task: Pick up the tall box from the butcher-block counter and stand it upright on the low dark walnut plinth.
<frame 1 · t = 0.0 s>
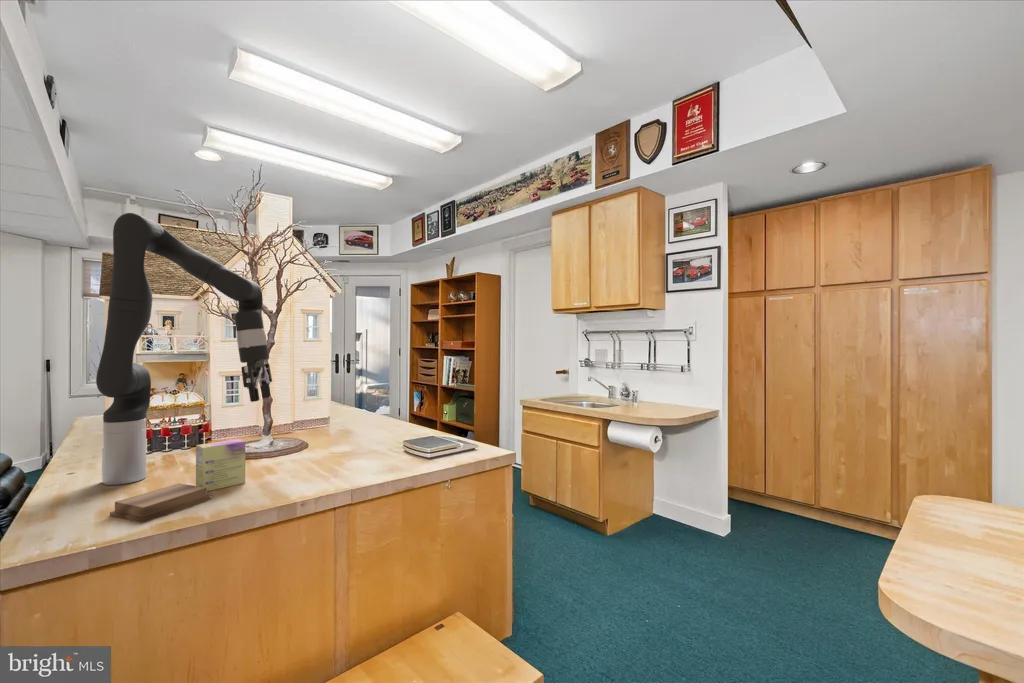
hand: (261, 399, 132), 22 cm above the countertop, tool pointing down, fingers open, 8 cm apart
plinth: (162, 507, 106), on the countertop
box: (220, 486, 121), on the countertop
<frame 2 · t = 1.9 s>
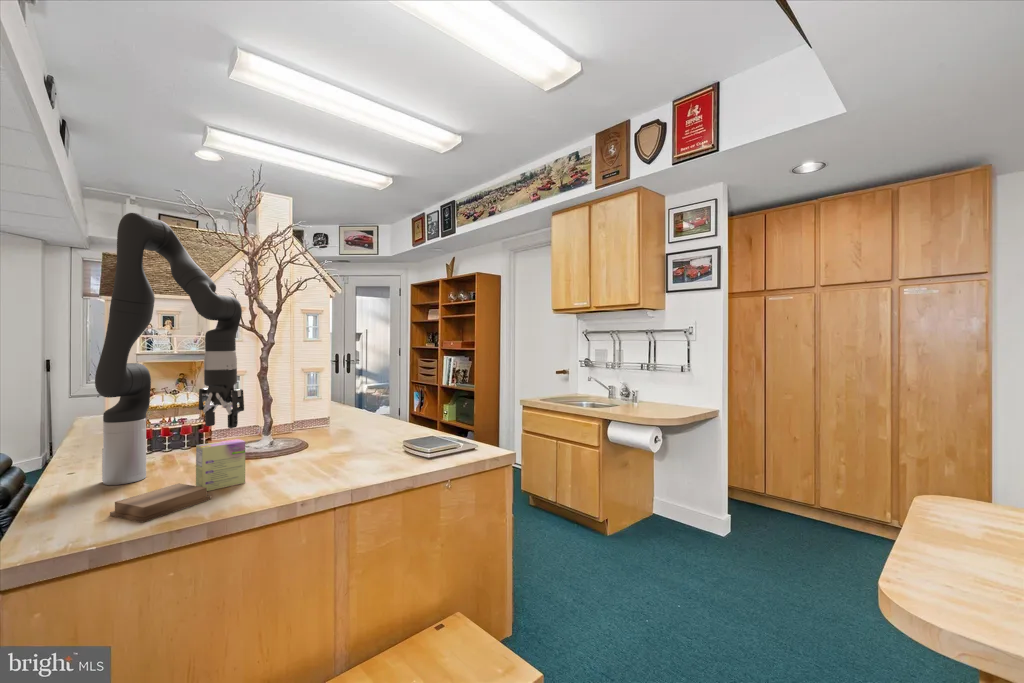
hand: (221, 426, 121), 16 cm above the countertop, tool pointing down, fingers open, 8 cm apart
nothing on the countertop moved.
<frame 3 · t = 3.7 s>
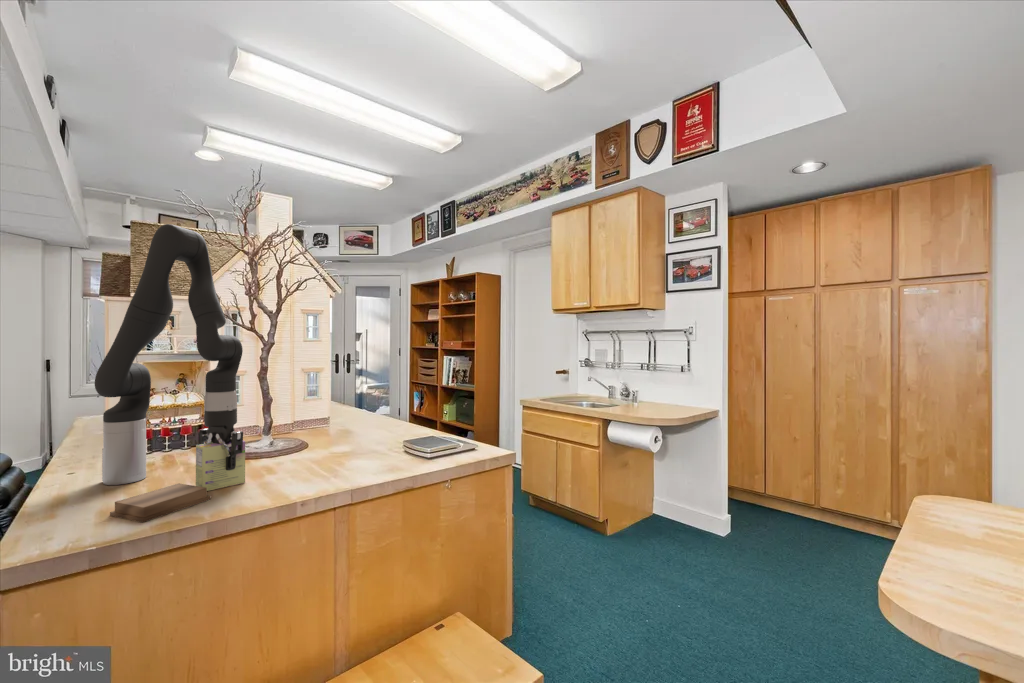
hand: (221, 468, 121), 5 cm above the countertop, tool pointing down, fingers closed on box, 6 cm apart
box: (220, 486, 121), on the countertop, touching gripper
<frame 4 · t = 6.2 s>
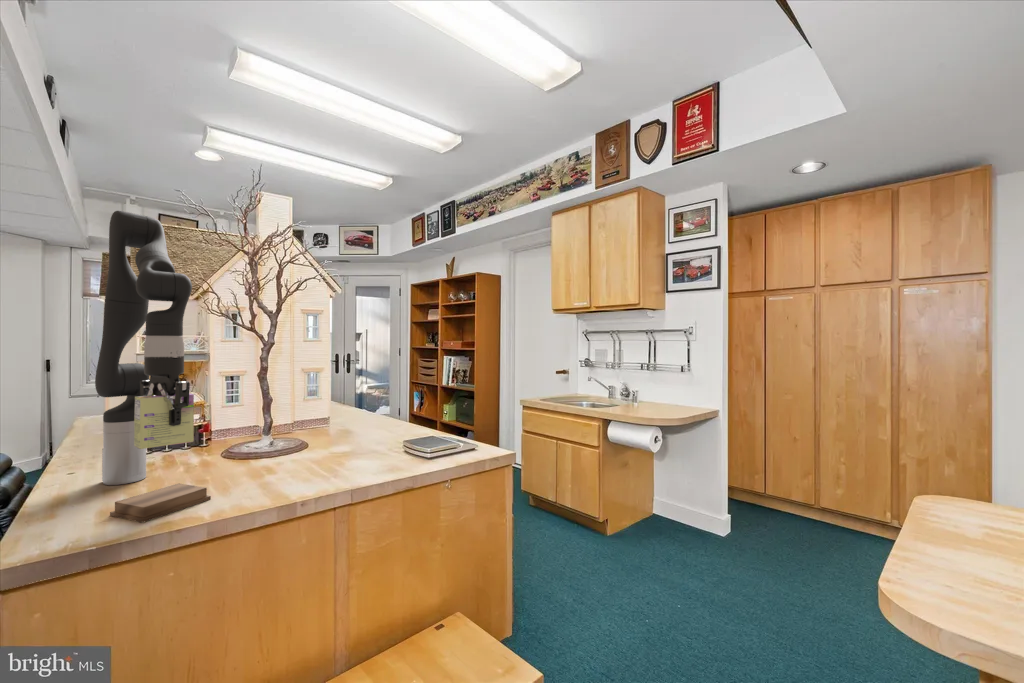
hand: (164, 424, 106), 20 cm above the countertop, tool pointing down, fingers closed on box, 6 cm apart
box: (164, 445, 106), point 15 cm above the countertop, touching gripper
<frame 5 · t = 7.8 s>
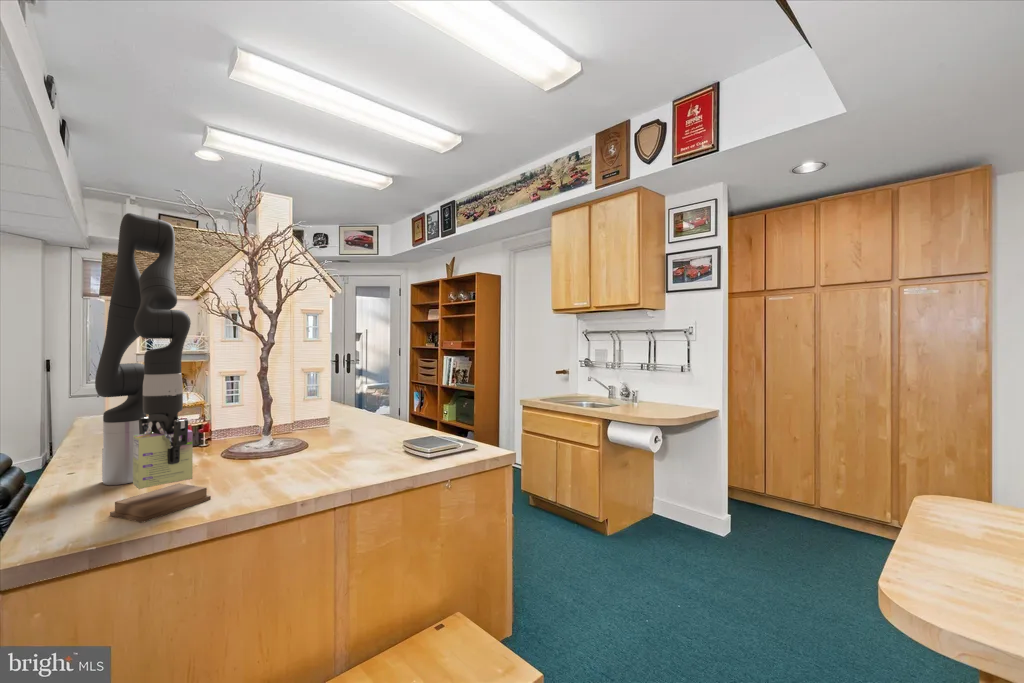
hand: (163, 461, 106), 11 cm above the countertop, tool pointing down, fingers closed on box, 6 cm apart
box: (163, 482, 106), point 6 cm above the countertop, touching gripper
when the fingers open (9 cm above the countertop, at t = 9.2 s): box drops 1 cm, resting on plinth.
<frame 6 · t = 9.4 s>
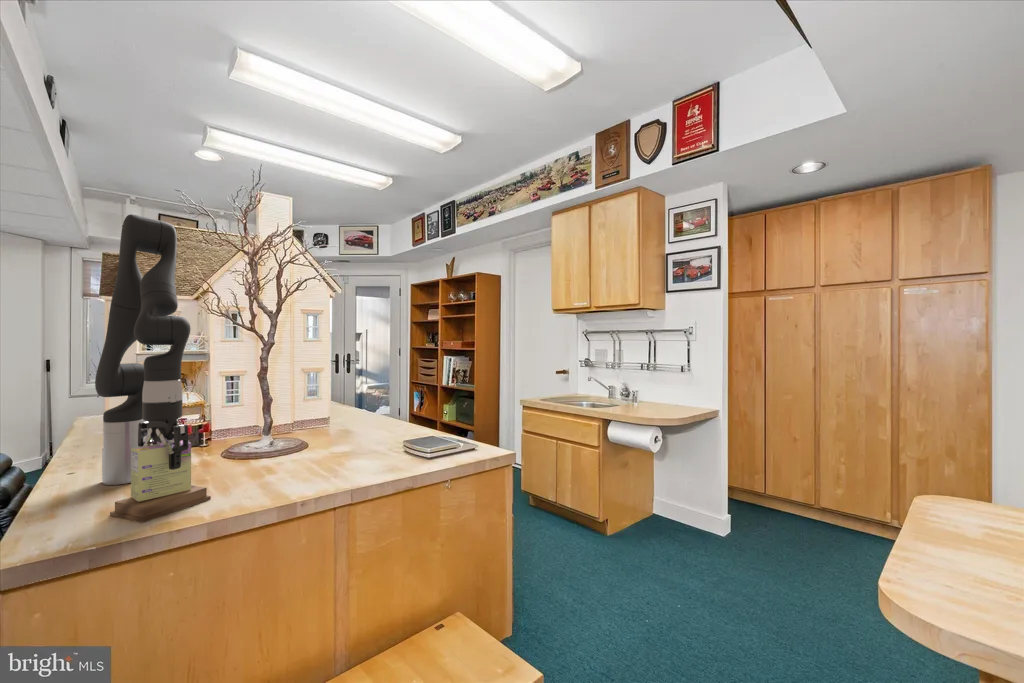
hand: (162, 467, 106), 10 cm above the countertop, tool pointing down, fingers open, 8 cm apart
box: (161, 494, 106), point 3 cm above the countertop, touching plinth
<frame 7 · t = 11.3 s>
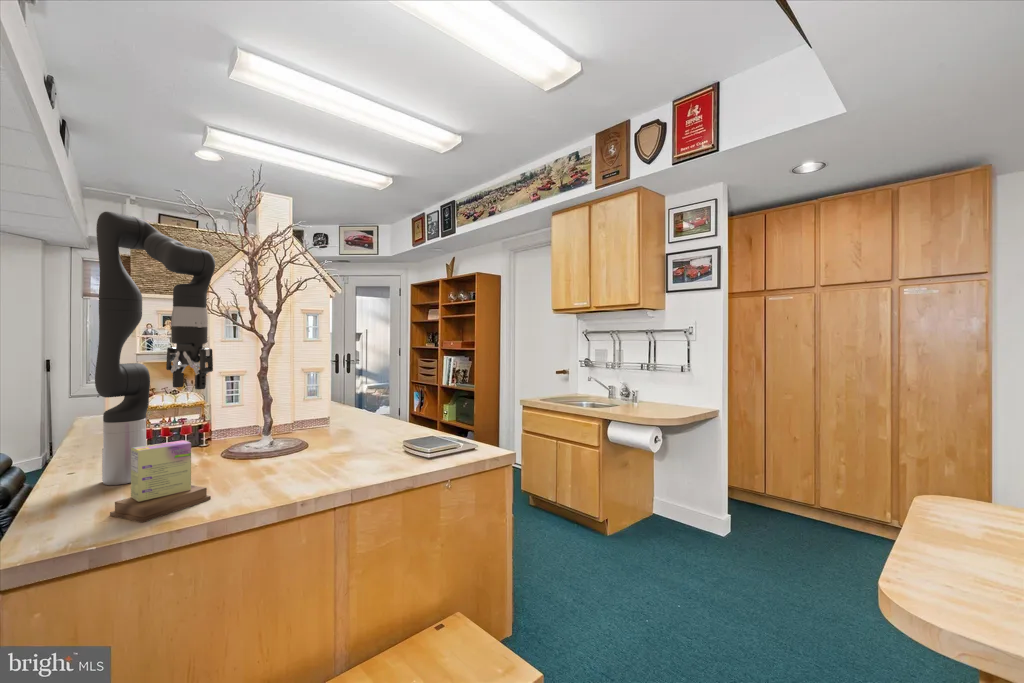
hand: (189, 388, 114), 28 cm above the countertop, tool pointing down, fingers open, 8 cm apart
nothing on the countertop moved.
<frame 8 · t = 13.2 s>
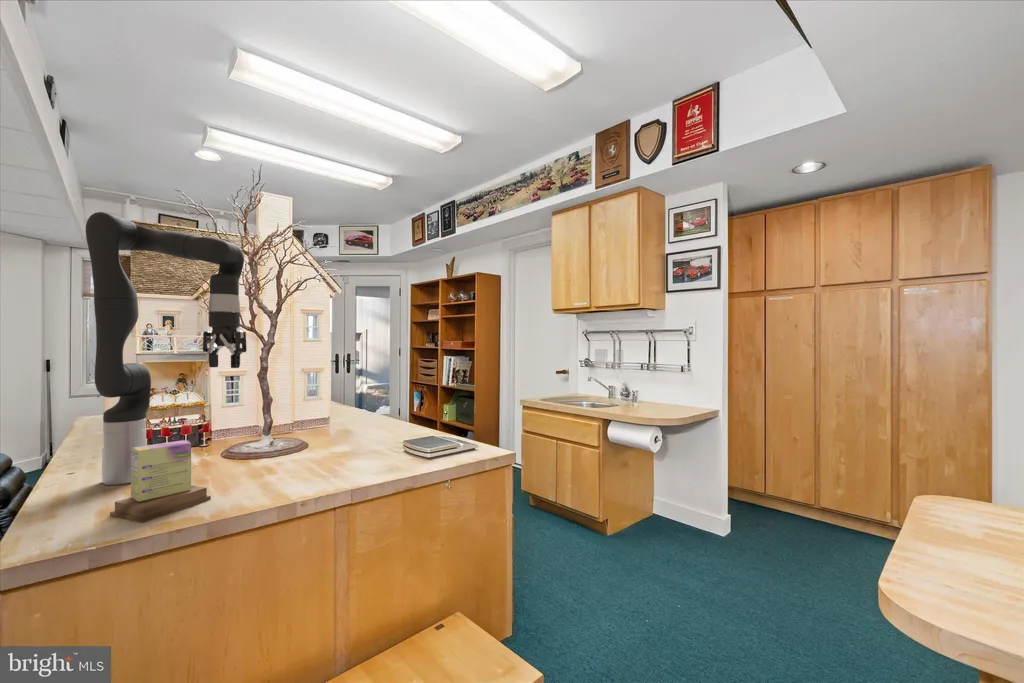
hand: (224, 367, 127), 32 cm above the countertop, tool pointing down, fingers open, 8 cm apart
nothing on the countertop moved.
at the end: box inside the target area on the plinth (0.6 cm from its centre), point 2.8 cm above the plinth's base; box tilted 0°; the gripper is holding nothing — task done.
